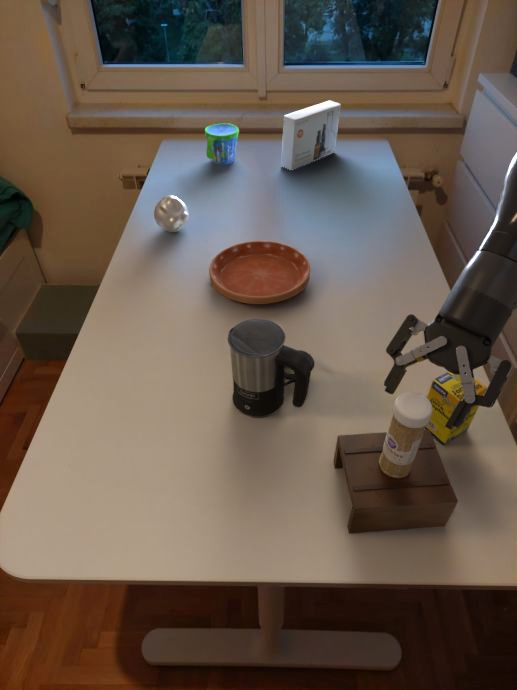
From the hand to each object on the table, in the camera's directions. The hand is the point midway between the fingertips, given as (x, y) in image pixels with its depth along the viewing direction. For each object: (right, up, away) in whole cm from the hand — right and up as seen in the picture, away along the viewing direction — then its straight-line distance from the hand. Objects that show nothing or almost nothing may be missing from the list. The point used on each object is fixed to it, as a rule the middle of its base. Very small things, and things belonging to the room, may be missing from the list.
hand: (417, 410), depth 64 cm
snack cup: (-32, +68, +101) cm, 126 cm away
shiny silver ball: (-43, +38, +69) cm, 90 cm away
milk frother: (-18, +1, +28) cm, 33 cm away
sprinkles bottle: (-1, -9, +7) cm, 12 cm away
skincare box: (-4, +69, +101) cm, 122 cm away
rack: (-1, -14, +12) cm, 19 cm away
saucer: (-20, +23, +52) cm, 61 cm away
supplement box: (+11, -6, +21) cm, 24 cm away
